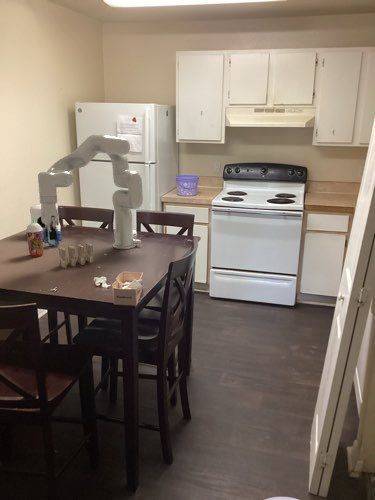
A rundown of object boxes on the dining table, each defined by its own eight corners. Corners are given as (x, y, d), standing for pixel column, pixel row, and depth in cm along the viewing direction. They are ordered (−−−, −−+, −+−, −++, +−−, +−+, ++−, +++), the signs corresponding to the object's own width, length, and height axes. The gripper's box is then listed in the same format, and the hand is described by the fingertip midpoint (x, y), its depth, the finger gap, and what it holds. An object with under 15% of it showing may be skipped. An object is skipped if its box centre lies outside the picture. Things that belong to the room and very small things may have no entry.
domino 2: (63, 264, 212) (62, 246, 209) (66, 267, 208) (65, 249, 205) (60, 265, 211) (58, 247, 209) (63, 267, 207) (62, 249, 205)
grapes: (40, 249, 236) (38, 227, 233) (40, 245, 243) (39, 224, 239) (62, 247, 240) (61, 226, 236) (62, 244, 246) (61, 223, 242)
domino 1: (51, 241, 206) (50, 222, 203) (55, 243, 202) (53, 225, 199) (48, 241, 205) (46, 223, 202) (51, 244, 201) (50, 225, 199)
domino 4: (81, 261, 217) (80, 244, 214) (84, 264, 213) (83, 246, 210) (77, 262, 216) (76, 244, 213) (81, 264, 212) (80, 247, 209)
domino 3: (72, 263, 214) (71, 245, 212) (75, 265, 210) (74, 248, 208) (69, 263, 214) (67, 246, 211) (72, 266, 210) (71, 248, 207)
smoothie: (35, 258, 220) (31, 220, 214) (24, 255, 224) (20, 218, 218) (48, 254, 227) (45, 217, 221) (37, 252, 231) (34, 215, 225)
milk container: (34, 232, 271) (32, 203, 265) (63, 231, 273) (61, 203, 267) (27, 239, 254) (25, 209, 249) (58, 239, 256) (56, 209, 251)
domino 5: (89, 260, 219) (88, 242, 217) (93, 262, 215) (92, 245, 213) (86, 260, 218) (85, 243, 216) (90, 263, 214) (89, 245, 212)
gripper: (34, 197, 202) (38, 235, 208) (45, 203, 189) (48, 243, 194) (51, 196, 206) (53, 233, 212) (62, 201, 193) (65, 241, 198)
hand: (51, 237), depth 203 cm, fingers closed on domino 1, 4 cm apart
